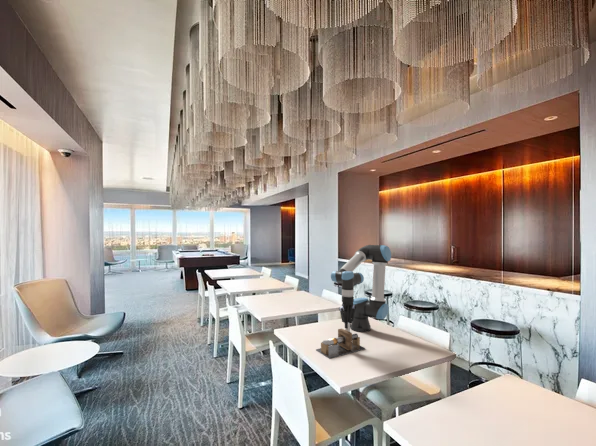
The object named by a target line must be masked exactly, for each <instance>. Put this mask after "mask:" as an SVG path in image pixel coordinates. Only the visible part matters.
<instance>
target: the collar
mask: <svg viewBox="0 0 596 446" xmlns="http://www.w3.org/2000/svg"><path fill="white" fill-rule="evenodd" d="M352 334H353V332H351V331H350V332H348V331H346V330H345V329H344V328H338V329H337V338H338V337H343V336H345V337H346V342H344V343H340V344H338V345H339V346H341V347H343V348H345V349H347V350H352Z"/></svg>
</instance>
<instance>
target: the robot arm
mask: <svg viewBox="0 0 596 446" xmlns="http://www.w3.org/2000/svg"><path fill="white" fill-rule="evenodd" d="M391 259H392V252H391V249H390V247H389V246H388V245H382V244H367V245H364V246H362V247H360V248H358V249H357V250H356V251H355V252H354V254H353V256H352V257H351V258H350V259H349V260H348V261H347V262H346V263H345V264H343V266H341V268H340V269H338V270H332V272H331V274H330V280H331V281H332V282H335V283H340V284H341V295H342V296H341V303H342V304H341V306H340V307H338V310H339V313H340V317H341V318H340V319H341V322H343V323H344V328H345V329H344V330H346V331H348V332H351V331H355V332H361V333H365V332H366V333H367V332H369V331H372V330H371V324H370V320H369V318H373V319H377V320H384V319H386V317H387V316H388V314H389V309H390V308H389V304H388V303H387V302H386V301H387V300H386V299H385V284H386V283H385V280H386V266H387V265H388V263H389V261H390V262H391ZM365 261H371V263H372V264H373V269H372V270H373V273H372V290H371V297H370V298H368V297H357V298H355V297H354V293H355V291H354V290H355V287H354V286H357V285H360V284H361V285H362V283H363V282H364V280H365V278H364V275H363V273H361V272H354V271H355V270H356V269H357V267H359V266H360V264H361V263H363V262H365Z"/></svg>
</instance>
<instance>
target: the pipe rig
mask: <svg viewBox="0 0 596 446" xmlns="http://www.w3.org/2000/svg"><path fill="white" fill-rule="evenodd" d="M344 342H346V337H345V336H343V337H338V336H337V337H334V338H333V337H332V338H329V339H325V340H323V341H322V342H320V347H319V348H317V349H315V351H316V352H319V353H320V354H322V355H323V356H325V357H327V358H328V359H334V358H337V357H340V356H345V355H349V354H352V353H356V352H360V351H364V350H366V347H364V346H362V345H361V337H360V336H359V334H358V333H352V350H347V349H345V348H343V347H341V346H339V345H338V344H340V343H344Z"/></svg>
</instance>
